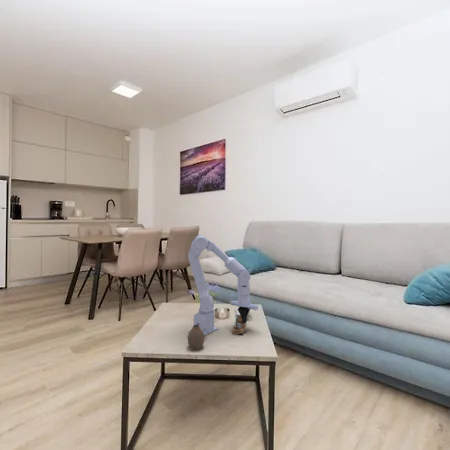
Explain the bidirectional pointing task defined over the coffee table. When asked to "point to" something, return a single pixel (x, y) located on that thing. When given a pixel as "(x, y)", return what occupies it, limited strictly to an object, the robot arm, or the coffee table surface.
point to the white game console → (238, 311)
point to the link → (239, 331)
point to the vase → (196, 337)
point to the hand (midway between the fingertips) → (244, 322)
